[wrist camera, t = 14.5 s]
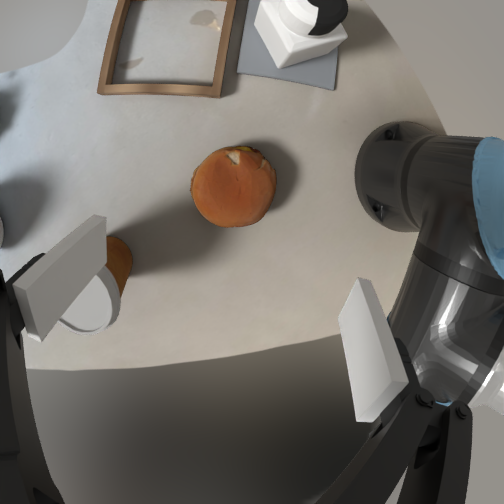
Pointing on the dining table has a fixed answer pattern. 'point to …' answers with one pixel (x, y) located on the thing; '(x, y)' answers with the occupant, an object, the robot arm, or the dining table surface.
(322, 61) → the slate mat
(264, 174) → the burger
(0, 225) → the grey egg-shaped container
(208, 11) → the dining table surface
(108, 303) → the disposable coffee cup
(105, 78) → the walnut caddy
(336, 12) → the medicine bottle
